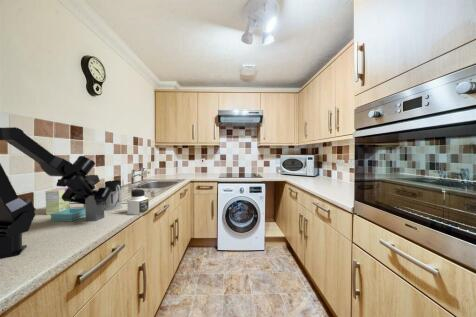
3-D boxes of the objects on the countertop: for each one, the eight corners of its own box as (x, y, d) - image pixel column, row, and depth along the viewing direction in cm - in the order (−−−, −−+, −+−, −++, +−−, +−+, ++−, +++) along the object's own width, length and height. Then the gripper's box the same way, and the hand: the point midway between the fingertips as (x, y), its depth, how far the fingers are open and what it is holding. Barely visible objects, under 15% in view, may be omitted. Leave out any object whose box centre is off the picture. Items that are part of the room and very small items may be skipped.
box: (57, 209, 108) (56, 187, 108) (70, 208, 110) (69, 187, 110) (45, 215, 98) (44, 191, 98) (59, 214, 100) (59, 190, 100)
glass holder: (119, 205, 117) (118, 179, 117) (128, 209, 108) (128, 182, 107) (101, 208, 110) (101, 181, 110) (110, 213, 101) (109, 183, 101)
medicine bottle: (139, 215, 98) (139, 190, 98) (127, 214, 100) (126, 190, 100) (148, 211, 105) (148, 188, 105) (137, 210, 107) (136, 188, 107)
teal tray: (71, 221, 89) (71, 214, 89) (50, 220, 90) (50, 214, 90) (88, 214, 99) (88, 208, 99) (69, 214, 99) (69, 208, 99)
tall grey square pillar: (96, 221, 89) (95, 192, 89) (85, 220, 90) (85, 192, 89) (104, 217, 94) (103, 190, 94) (94, 217, 95) (93, 190, 94)
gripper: (108, 169, 87) (124, 190, 99) (67, 169, 88) (87, 189, 99) (94, 190, 80) (113, 210, 91) (50, 190, 80) (74, 209, 92)
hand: (97, 204), depth 93 cm, fingers open, 8 cm apart
